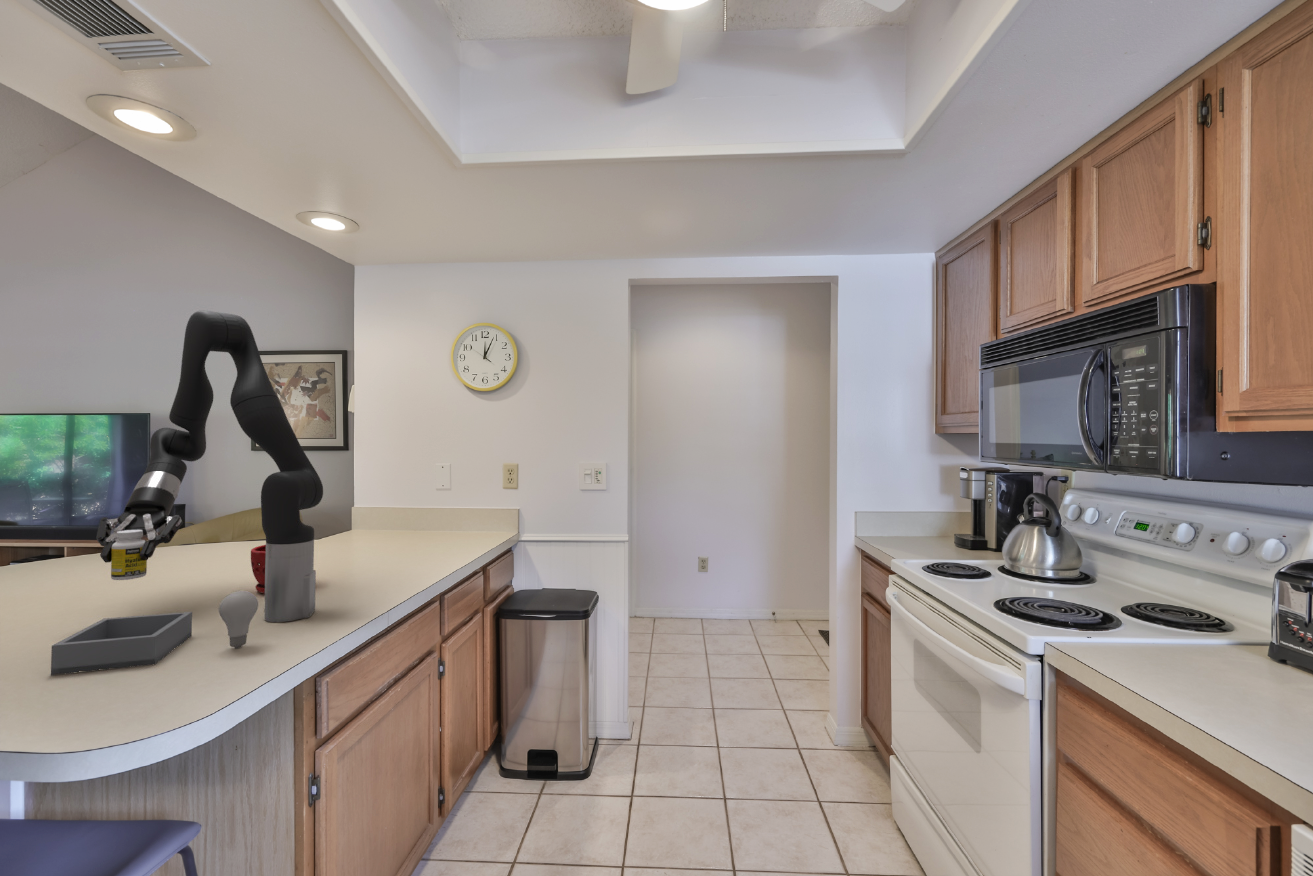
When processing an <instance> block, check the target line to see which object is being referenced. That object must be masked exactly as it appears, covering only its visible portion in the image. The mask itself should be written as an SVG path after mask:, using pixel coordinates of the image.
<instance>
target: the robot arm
mask: <svg viewBox="0 0 1313 876" xmlns="http://www.w3.org/2000/svg"><path fill="white" fill-rule="evenodd" d="M182 347H183V348H182V356H181V367H180V377H179V383H178V387H177V391H176V393H175V397H174V400H173V402H172V405H171V408H170V412H169V414H168V419H169V421H170V422H171V423H172V424H174V425H175V426H177V427H180V428H181V429H183V430H181V429H176V428H172V427H162V428H158V429H157V430H155V431H154V433H153V434H152V435H151V437H150V443H149V447H150V448H149V452H150V457H149V460H148V461H149V462H148V464H147V466H146V469H145V470H144V473H143V475H142V476H141V478H140V479H139V480H138V482H137V484H136V485H135V487H134V489H133V491H132V492H131V495H130V497H129V499H128V501H127V502H126V505H125V507H124V511H123V513H122V514H121V515H119V516H118V517H117V518H110V519H108V517H107V516H106V517H104V516H103V517H101V518H100V520H99V523H98V527H97V532H96V538H95V539H96V540H97V542H98V544H99V545H100V546H101V547H103V548H102V550H101V552H100V553H99V554H100V555H99V557H100V558H101V559H102V561H103V562H104V563H105V564H106V563H111V555H112V545H113V544H114V543H116V542H118V539H117V538H116V537H117V532H119V531H125V530H143V536H147V539H148V540H145V543H144V546H143V548H142V550H141V552H140V558H141V559H142V561H144V560H147V561H148V560H149V558H152V557H153V555H154V553H155V550H156V548H157V546H159V545H160V544H169V543H170V542H171V541H172V539H173V538H174V537H175V535H176V534H177V532H178V531H179V529H180V528H181V526H182V525H183V520H182V518H181V516H180V515H179V514H174V515H173V516H169V515H170V513H171V511H172V509H173V507H174V504H175V502H176V500H177V499H178V496H179V495H178V494H179V492H180V488H181V485H182V483H183V480H184V477H185V475H186V473H187V470H188V466H187V464H186V463H185V462H191V463H192V462H196V461H198V460H200V459H201V458H202V457H203V456H204V455H205V453H206V450H207V436H206V426H207V425H206V424H207V421H208V417H209V414H210V412H211V408H212V406H213V402H214V389H213V387H212V384H211V381H210V379H209V377H208V374H207V372H206V360H207V359H208V356H209V353H211V352H217V353H219V352H220V353H228V354H229V355H230V357H231V358H232V360H233V363H234V366H235V368H236V379H235V381H234V384H233V387H232V390H231V393H230V402H229V403H230V406H231V408H232V409H231V410H232V411H233V414H234V416H235V418H236V420H237V423H238V424H239V427H240V428H241V430H242V431H243V432H244V434H245V435H246V436H248V438H249V439H250V440H251V441H253V442H254V444H256V445H258V447H259V448H261V449H262V450H263V451H264V452H265V453H266V454H267V455H268V456H270V458H272V460H273V461H274V463H275V465H276V467H277V468H278V470H279V471H278V472H274V473H271V474H269V475H268V476H267V477H266V478H265V480H264V481H263V483H262V487H261V491H260V508H261V509H260V511H261V527H262V530H263V532H264V535H265V545H266V560H265V593H264V608H263V609H264V610H263V612H264V613H263V614H264V616H263V618H264V620H265V621H266V622H270V623H283V622H291V621H296V620H301V619H307V618H310V617H311V616H312V614H313V613H314V612H315V610H316V584H317V583H316V581H317V580H316V579H317V572H316V570H315V568H314V565H315V563H314V562H315V558H314V557H315V528H314V527H313V526H311V525H309V524H304V523H303V521H302V520H301V514H300V511H303V510H308V509H312V508H314V507H316V506H318V505H319V504H320V503H321V501H322V499H323V496H324V486H323V482H322V480H321V478H320V476H319V474H318V472H317V471H316V468H315V467H314V465H313V464H312V463H311V461H310V459H309V458H308V456H307V455H306V452H305V451H304V449H303V447H302V446H301V443H300V442H299V439H298V437H297V435H296V434H295V432H294V430H293V427H292V426H291V423H290V422H289V418H288V417H287V414H286V412H285V409H284V407H283V405H282V403H281V400H280V399H279V397H278V394H277V393H276V390H275V389H274V387H273V384H272V382H271V379H270V378H269V376H268V373H267V370H266V369H265V367H264V364H263V361H262V357H261V354H260V351H259V349H258V345H257V342H256V338H255V337H254V333H253V331H252V329H251V326H250V325H249V323H248V322H247V320H246V318H243V317H242V316H241V315H237V314H232V313H225V312H219V311H211V310H198V311H195V312H194V313H192V314H191V315H190V317H189V319H188V320H187V323H186V327H185V332H184V341H183V346H182ZM165 524H166V525H165ZM117 525H118V526H117ZM116 526H117V527H116ZM162 526H165V527H164V528H163V529H162V530H161V532H160V534H158V533H159V531H158V529H160V528H162ZM112 531H113V533H111V532H112Z"/></svg>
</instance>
